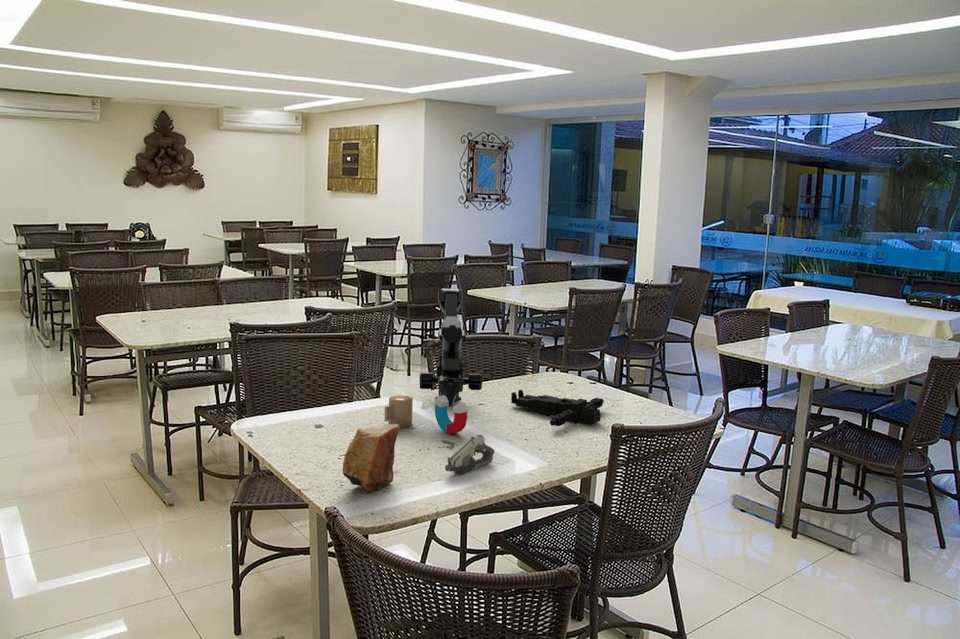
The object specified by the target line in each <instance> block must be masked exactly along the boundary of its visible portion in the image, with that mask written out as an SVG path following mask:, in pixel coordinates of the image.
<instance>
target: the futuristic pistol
mask: <svg viewBox="0 0 960 639" xmlns="http://www.w3.org/2000/svg"><path fill="white" fill-rule="evenodd" d="M485 441H486V440H485V437H484V435H482V434H475V433H474V434H473V435H472V436H470V438H469V440H467V441H466V442H464V444H463V445H461V446H460V448H458V449H457V450H456V451H455V452H454V453H453V454H452V455H451V456H450V457H447V460H446V461H447V464H445V466H444V467H445V468H444V469H445V471H446V472H451V473H452V472H453V473H455V474H458V475H465V473H466V474H468V473H471V472H472V471H473V469H474V468H476V469H480V467H481V468H484V467H485V466H488V465H489V464H491V463H492V462H493V461H494V460H493V459H494V454H495V449H493V448H492V447H491V446H489V445H487V444H486V443H485ZM476 453H478V454H479V453H480V454H482V456H481V457H480V458H478V459H475V458H474V456H476ZM467 472H468V473H467Z"/></svg>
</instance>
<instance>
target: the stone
mask: <svg viewBox="0 0 960 639" xmlns="http://www.w3.org/2000/svg"><path fill="white" fill-rule="evenodd" d="M400 431H401V428H400V426H399V425H398V424H389V423H388V424H383V425H381V427H365V428H364V429H363V428H362V427H358V428H357V430H356V433H355V434H354V436H353V439H352V440H351V442H350V443H349V445H348V446H347V450H346V451H345V454H344V458H343V463H342V474H343V476H344V477H345V478H347V480H349V482H350V484H351V485H352V486H359V487H361V489H362V490H364V491H366V492H367V493H368V492H372V491H375V490H377V491H378V490H380V489H382V488H383V487H385V486H386V485H390V484H391V483H393V481H394V478H395V477H394V463H395V446H396V442H397V438H398V435H399V432H400Z"/></svg>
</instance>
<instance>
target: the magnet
mask: <svg viewBox="0 0 960 639" xmlns="http://www.w3.org/2000/svg"><path fill="white" fill-rule="evenodd" d="M448 402H449V401H448V400H447V398H446V397H445V395H442V396H439V395H437V398H435V402H434V416H435V420H436V423H437V425H438V426H439V428H440V429H441V430H442V431H443V433H445V434H447V435H453V434H458V433H460V432H462V431H463V430H464V429H465V427H466V426H467V422H468V409H467V405H466V402H462V403H458V404H456V405H454V406H452V409H453V415H454V416H453V421H452V420H451V419H450V417H449V413H448V407H449V405H448Z"/></svg>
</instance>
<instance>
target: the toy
mask: <svg viewBox="0 0 960 639" xmlns="http://www.w3.org/2000/svg"><path fill="white" fill-rule="evenodd" d="M517 394H518V395H517ZM510 398H511V400H510V402H511V404H515V407H519V408H523V409H527V410H528V411H531V412H533V413H535V414H538V415H539V416H543V417H550V416H551V419H550V421H549V424H550V426H551V427H553V426H554V427H560V426H563V425H565V424H566V423H567V422H568V423H570V424H575V425H578V424H582V425H587V426H593V425H596V424H597V423H600V422H601V416H602V415H601V414H602V413H601V409H599V408H601V407H603V404H604V402H605V400H604V399H603V398H601V397H600V398H599V397H595V398H592V399H590V400H589V401H588V400H587V399H583V398H578V399H574V398H566V397H563V398H559V397H557V396H551V395H546V394H543V395H537V396H536V395H532V394H525V393H524V391H523V389H519V390H518V392H517V393H516V392H515V391H514V392H513V391H512V392H511V397H510Z"/></svg>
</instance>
